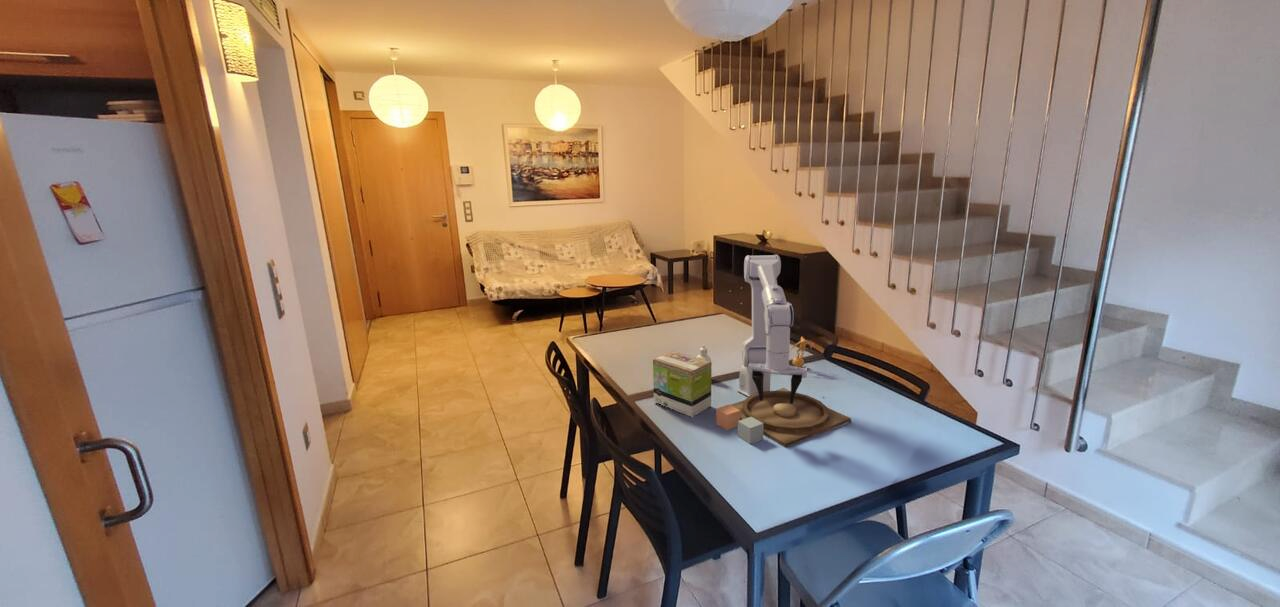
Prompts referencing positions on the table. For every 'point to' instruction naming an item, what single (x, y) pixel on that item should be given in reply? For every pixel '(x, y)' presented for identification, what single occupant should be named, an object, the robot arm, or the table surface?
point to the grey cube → (750, 430)
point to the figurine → (798, 360)
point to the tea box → (682, 382)
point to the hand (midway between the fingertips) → (776, 400)
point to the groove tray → (794, 425)
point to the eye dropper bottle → (703, 354)
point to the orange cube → (727, 416)
